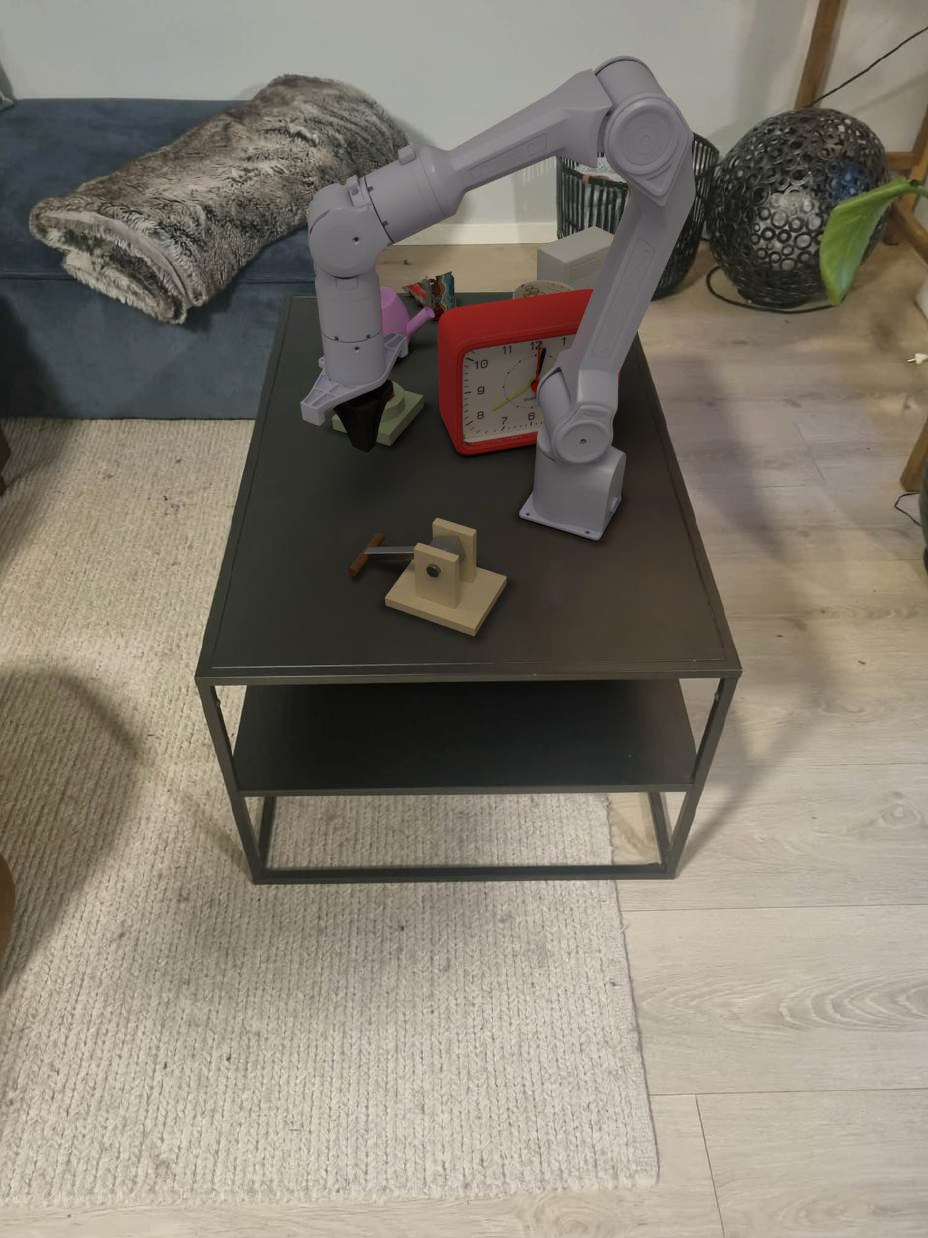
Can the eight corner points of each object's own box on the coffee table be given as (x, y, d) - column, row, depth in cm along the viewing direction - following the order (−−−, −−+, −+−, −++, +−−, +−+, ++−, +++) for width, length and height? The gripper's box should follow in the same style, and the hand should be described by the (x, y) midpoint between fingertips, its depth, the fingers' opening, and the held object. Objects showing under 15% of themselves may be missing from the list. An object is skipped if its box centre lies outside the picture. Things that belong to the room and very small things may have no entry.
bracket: (385, 605, 95) (380, 549, 89) (420, 556, 100) (418, 500, 94) (474, 637, 92) (475, 581, 86) (506, 584, 97) (509, 528, 91)
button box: (423, 406, 118) (423, 382, 115) (390, 446, 113) (388, 422, 110) (368, 391, 120) (366, 367, 118) (333, 429, 115) (330, 405, 112)
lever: (353, 581, 96) (343, 563, 95) (380, 544, 100) (371, 527, 98) (448, 581, 89) (439, 562, 88) (474, 542, 93) (466, 523, 92)
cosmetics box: (589, 293, 137) (594, 222, 129) (618, 311, 133) (626, 239, 126) (533, 316, 133) (535, 244, 125) (562, 335, 129) (566, 262, 122)
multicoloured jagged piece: (393, 241, 134) (429, 231, 135) (399, 288, 139) (434, 277, 140) (427, 278, 126) (465, 266, 128) (432, 325, 132) (469, 314, 133)
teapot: (339, 327, 131) (332, 263, 124) (443, 338, 129) (442, 274, 122) (316, 367, 124) (308, 302, 117) (426, 379, 122) (424, 314, 115)
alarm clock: (435, 416, 117) (432, 300, 105) (585, 392, 120) (598, 276, 108) (455, 463, 110) (454, 344, 99) (613, 436, 114) (630, 318, 102)
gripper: (363, 281, 91) (373, 399, 101) (266, 349, 83) (288, 470, 93) (423, 301, 89) (427, 419, 99) (329, 373, 80) (344, 495, 90)
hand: (363, 446), depth 96 cm, fingers closed
